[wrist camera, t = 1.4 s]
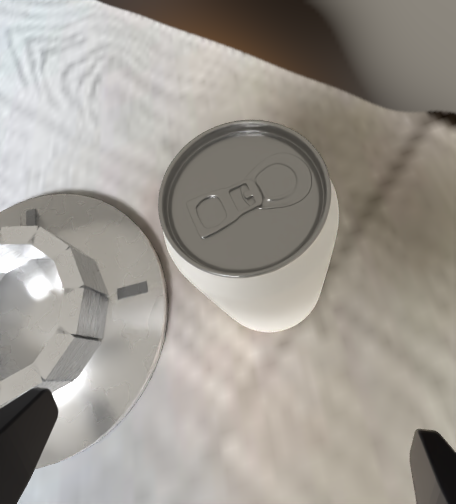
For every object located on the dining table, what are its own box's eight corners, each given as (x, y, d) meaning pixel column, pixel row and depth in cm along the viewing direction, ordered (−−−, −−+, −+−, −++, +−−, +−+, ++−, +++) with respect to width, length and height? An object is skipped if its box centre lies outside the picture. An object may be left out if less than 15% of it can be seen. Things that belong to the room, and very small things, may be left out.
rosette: (49, 539, 20) (-4, 574, 17) (-120, 360, 26) (-186, 358, 23) (220, 271, 24) (207, 253, 20) (36, 163, 29) (0, 134, 26)
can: (341, 305, 22) (388, 232, 10) (243, 351, 22) (185, 328, 11) (292, 216, 24) (287, 79, 13) (203, 259, 24) (121, 159, 13)
